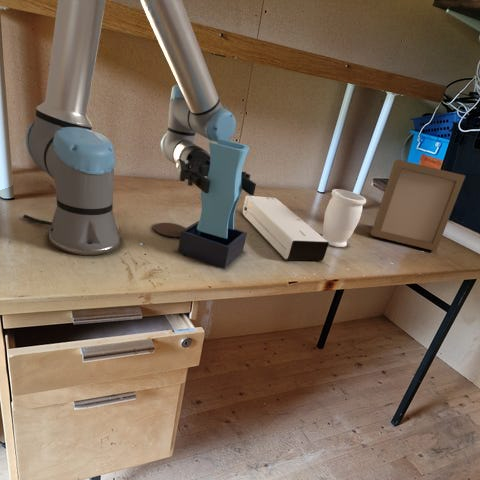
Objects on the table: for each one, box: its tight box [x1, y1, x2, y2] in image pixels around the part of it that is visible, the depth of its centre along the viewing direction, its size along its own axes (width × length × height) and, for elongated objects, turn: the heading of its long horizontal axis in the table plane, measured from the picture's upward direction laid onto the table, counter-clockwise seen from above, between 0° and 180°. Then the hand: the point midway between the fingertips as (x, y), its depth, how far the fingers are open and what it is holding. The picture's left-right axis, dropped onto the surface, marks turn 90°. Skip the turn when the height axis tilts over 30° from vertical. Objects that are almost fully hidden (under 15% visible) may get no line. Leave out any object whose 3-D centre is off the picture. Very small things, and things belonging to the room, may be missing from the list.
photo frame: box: [370, 159, 466, 252], centre depth 139 cm, size 15×22×25 cm
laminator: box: [242, 194, 329, 262], centre depth 122 cm, size 34×12×6 cm, turn 22°
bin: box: [177, 220, 248, 269], centre depth 104 cm, size 13×13×6 cm
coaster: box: [153, 222, 186, 239], centre depth 111 cm, size 9×9×1 cm
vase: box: [197, 138, 251, 239], centre depth 96 cm, size 8×8×20 cm
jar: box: [321, 188, 367, 248], centre depth 125 cm, size 11×10×15 cm
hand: (231, 188), depth 93 cm, fingers closed on vase, 11 cm apart
